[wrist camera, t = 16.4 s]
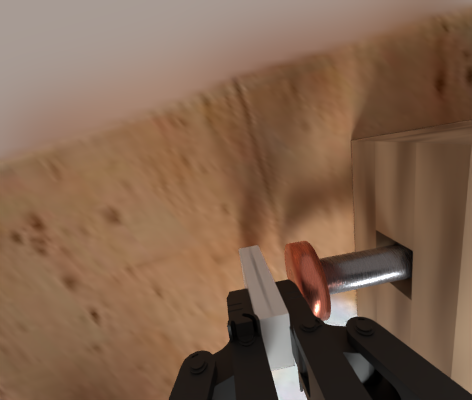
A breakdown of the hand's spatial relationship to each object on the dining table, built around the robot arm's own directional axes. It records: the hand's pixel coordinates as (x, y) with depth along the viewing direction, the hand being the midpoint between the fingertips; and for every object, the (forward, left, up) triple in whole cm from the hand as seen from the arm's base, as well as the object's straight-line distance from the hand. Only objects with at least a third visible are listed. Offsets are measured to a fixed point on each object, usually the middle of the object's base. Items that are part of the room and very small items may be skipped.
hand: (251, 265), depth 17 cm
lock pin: (+9, 0, 0) cm, 9 cm away
